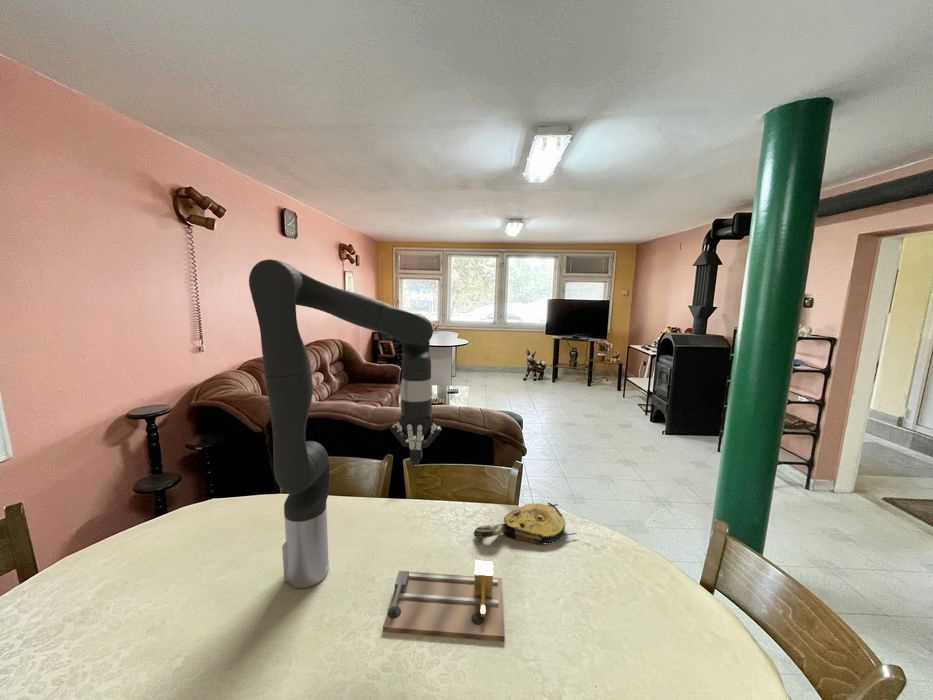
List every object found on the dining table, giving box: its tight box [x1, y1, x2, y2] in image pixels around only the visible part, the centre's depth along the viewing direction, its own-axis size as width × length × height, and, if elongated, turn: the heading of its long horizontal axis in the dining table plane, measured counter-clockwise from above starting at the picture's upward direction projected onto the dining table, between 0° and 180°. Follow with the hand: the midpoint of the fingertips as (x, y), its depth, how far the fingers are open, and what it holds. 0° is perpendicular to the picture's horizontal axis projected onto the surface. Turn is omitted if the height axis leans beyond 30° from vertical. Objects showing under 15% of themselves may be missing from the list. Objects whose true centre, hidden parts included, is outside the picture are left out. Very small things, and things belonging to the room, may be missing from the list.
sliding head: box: [474, 560, 494, 619], centre depth 80 cm, size 4×10×6 cm, turn 177°
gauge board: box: [382, 570, 506, 642], centre depth 81 cm, size 25×15×4 cm, turn 87°
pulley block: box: [472, 502, 578, 546], centre depth 106 cm, size 14×6×30 cm
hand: (416, 461), depth 91 cm, fingers closed
